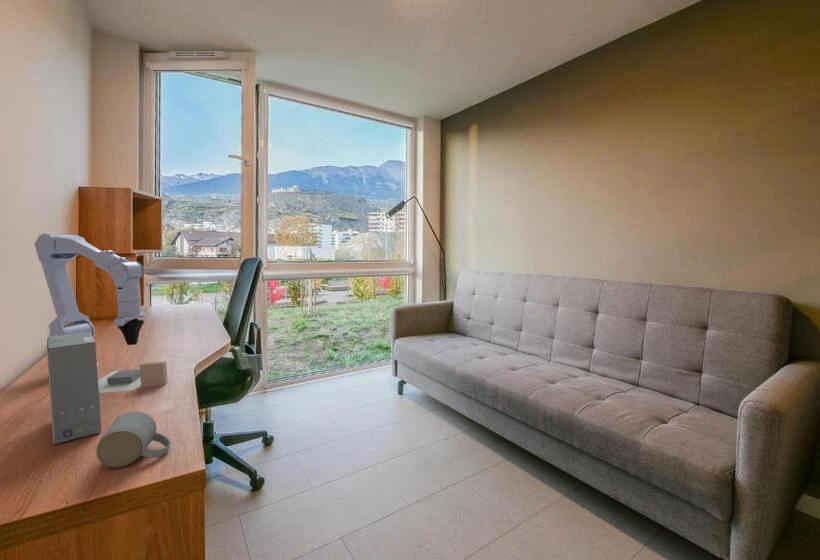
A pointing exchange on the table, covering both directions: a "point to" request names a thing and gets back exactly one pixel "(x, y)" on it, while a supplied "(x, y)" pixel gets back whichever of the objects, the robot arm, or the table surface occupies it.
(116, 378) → the glazed tile
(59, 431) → the hard drive box
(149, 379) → the plain tile
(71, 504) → the table surface
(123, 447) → the ceramic mug
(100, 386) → the felt mat
